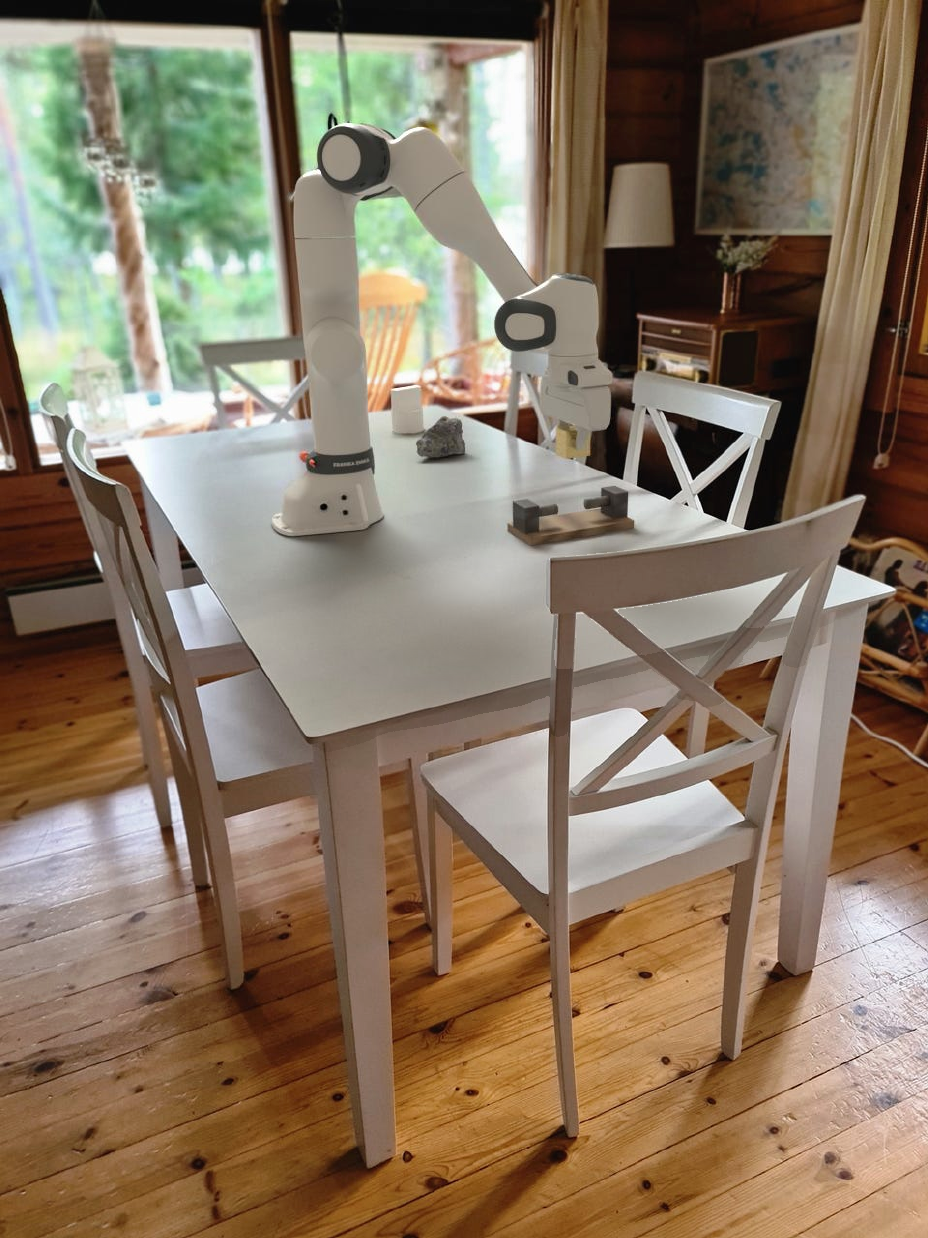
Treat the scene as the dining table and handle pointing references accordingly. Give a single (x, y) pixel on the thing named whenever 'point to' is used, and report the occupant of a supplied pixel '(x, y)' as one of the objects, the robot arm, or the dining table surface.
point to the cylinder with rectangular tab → (407, 409)
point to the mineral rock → (442, 439)
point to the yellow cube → (569, 443)
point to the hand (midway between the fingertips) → (572, 446)
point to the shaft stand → (571, 518)
